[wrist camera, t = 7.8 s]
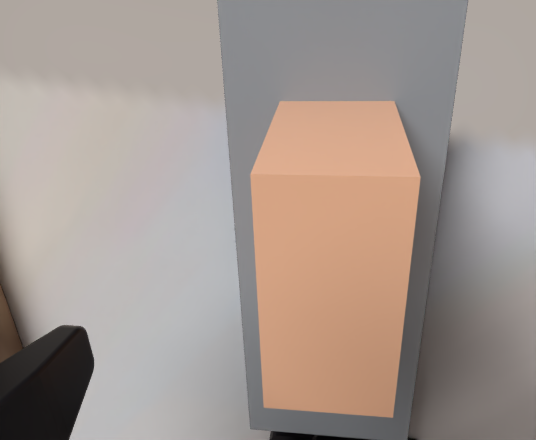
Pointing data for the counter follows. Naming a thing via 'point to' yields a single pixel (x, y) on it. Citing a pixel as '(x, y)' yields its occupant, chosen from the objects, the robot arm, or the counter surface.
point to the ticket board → (7, 331)
